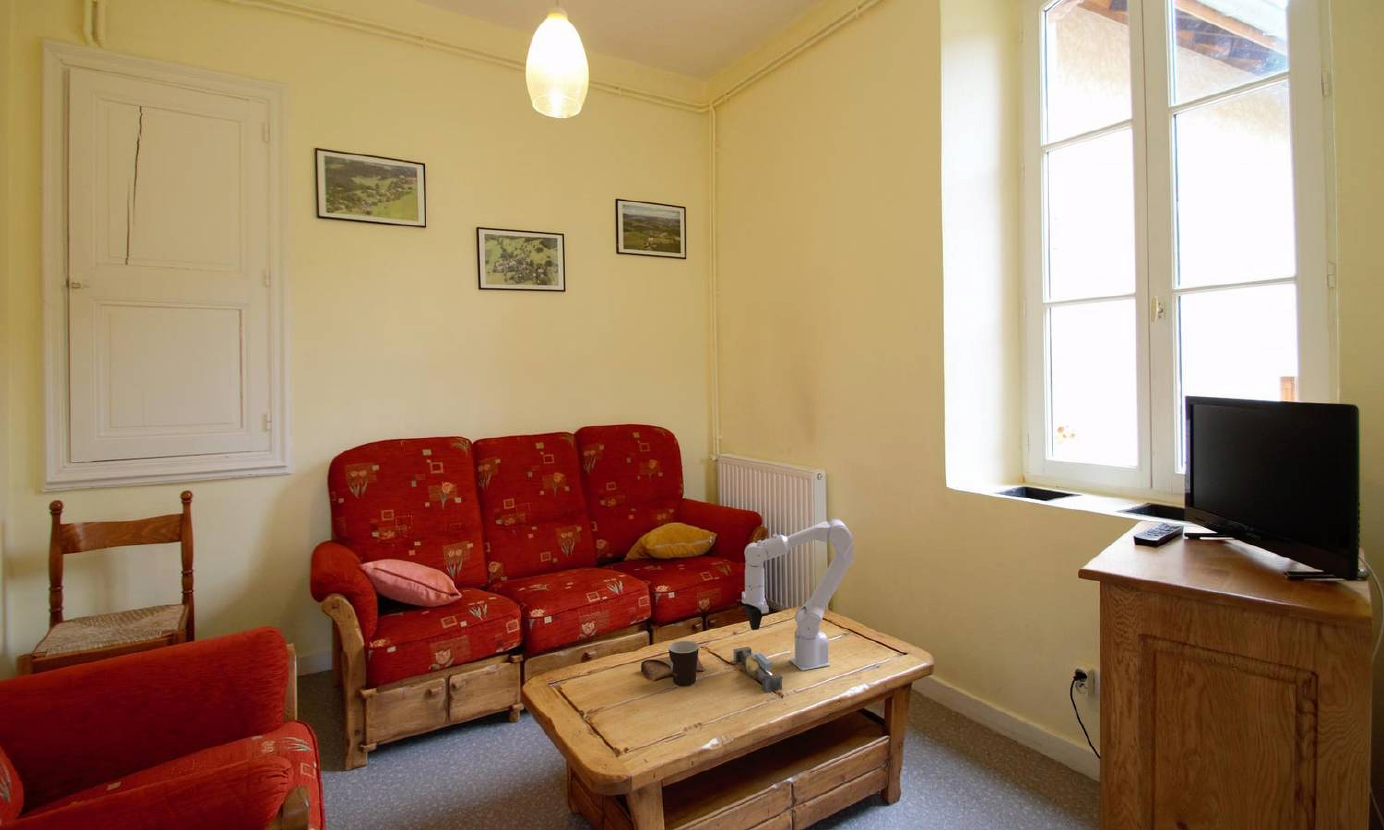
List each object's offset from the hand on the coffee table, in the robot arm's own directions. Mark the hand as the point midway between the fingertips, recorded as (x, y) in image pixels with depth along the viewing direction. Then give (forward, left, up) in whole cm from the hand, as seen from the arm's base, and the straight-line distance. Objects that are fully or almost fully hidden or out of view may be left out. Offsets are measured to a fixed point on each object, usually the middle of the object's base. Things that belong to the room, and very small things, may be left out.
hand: (755, 629), depth 200 cm
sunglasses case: (+24, -4, -11) cm, 27 cm away
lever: (+3, +10, -6) cm, 12 cm away
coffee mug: (+23, +2, -11) cm, 25 cm away
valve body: (+3, +7, -10) cm, 13 cm away
